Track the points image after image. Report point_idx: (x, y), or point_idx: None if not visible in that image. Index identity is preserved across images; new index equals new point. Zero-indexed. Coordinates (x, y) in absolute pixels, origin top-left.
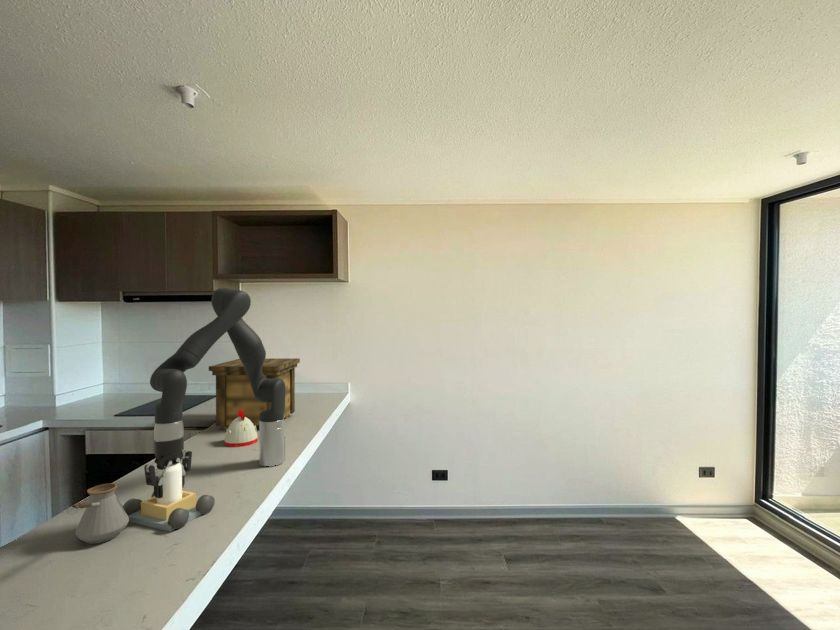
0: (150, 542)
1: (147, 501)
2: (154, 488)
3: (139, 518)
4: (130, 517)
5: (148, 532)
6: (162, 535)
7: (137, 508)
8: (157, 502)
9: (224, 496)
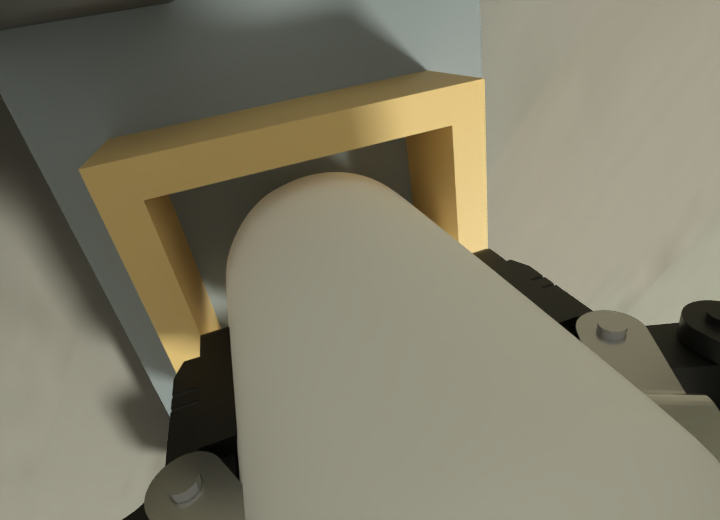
0: (66, 488)
1: (155, 194)
2: (174, 454)
3: (71, 215)
4: (6, 98)
5: (95, 374)
6: (149, 455)
7: (100, 10)
8: (226, 287)
9: (608, 253)
